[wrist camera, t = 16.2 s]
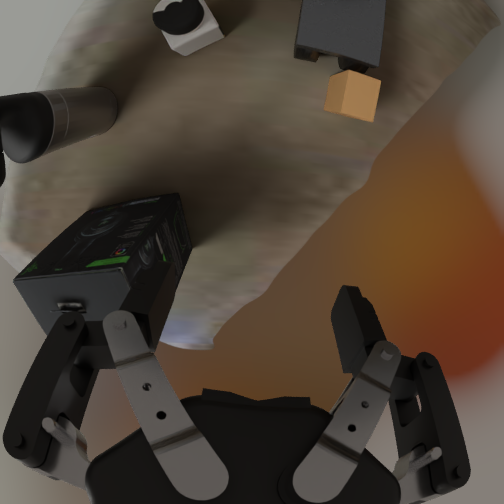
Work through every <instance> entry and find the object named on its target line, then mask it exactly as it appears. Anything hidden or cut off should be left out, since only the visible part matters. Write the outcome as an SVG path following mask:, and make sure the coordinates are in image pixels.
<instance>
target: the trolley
mask: <svg viewBox="0 0 504 504" xmlns="http://www.w3.org/2000/svg"><path fill="white" fill-rule="evenodd" d="M385 7H386V0H302V4H301V10H300V17H299V23H298V29H297V34H296V39H295V46H294V58H297V59H302V60H306V61H311V62H316V61H317V60H318V58H319V56H320V53H324V54H328V55H332V56H336V57H338V64H339V68H340V69H343V70H346V71H347V70H351V71H354V72H358V73H361V74H364V73H365V72H366V71H367V70H368V68H369V67H371V68H376V67H379V61H380V54H381V47H382V38H383V29H384V19H385Z"/></svg>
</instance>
